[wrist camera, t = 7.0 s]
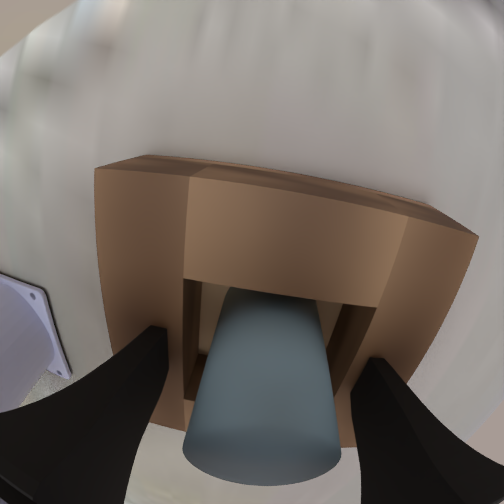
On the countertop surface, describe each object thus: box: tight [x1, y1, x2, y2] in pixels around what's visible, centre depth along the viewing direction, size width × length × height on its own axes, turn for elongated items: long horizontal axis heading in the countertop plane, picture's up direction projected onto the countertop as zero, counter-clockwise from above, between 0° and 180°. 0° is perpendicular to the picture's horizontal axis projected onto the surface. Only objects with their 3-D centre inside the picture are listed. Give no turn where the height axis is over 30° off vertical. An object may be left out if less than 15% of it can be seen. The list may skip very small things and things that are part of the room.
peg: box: [182, 287, 341, 486], centre depth 9 cm, size 4×4×7 cm
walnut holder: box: [94, 155, 479, 448], centre depth 11 cm, size 12×12×4 cm
